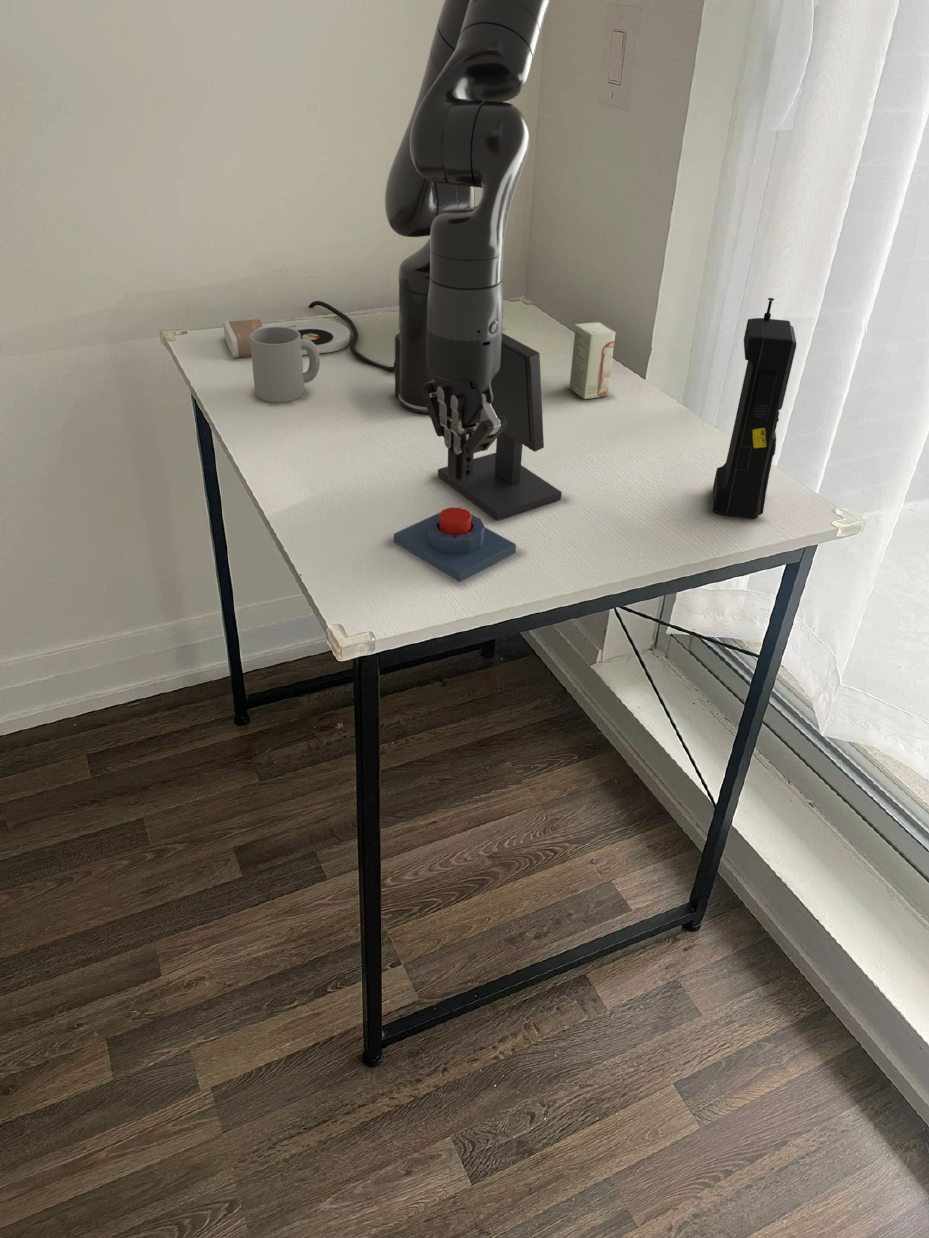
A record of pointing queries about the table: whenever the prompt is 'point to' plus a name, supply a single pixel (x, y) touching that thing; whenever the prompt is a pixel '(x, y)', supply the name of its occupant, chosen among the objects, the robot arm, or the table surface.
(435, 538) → the switch box
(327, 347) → the record player
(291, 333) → the cup
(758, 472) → the portable radio
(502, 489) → the monitor stand
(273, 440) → the table surface
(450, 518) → the power button
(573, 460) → the table surface
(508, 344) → the monitor screen
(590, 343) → the white cardboard box
